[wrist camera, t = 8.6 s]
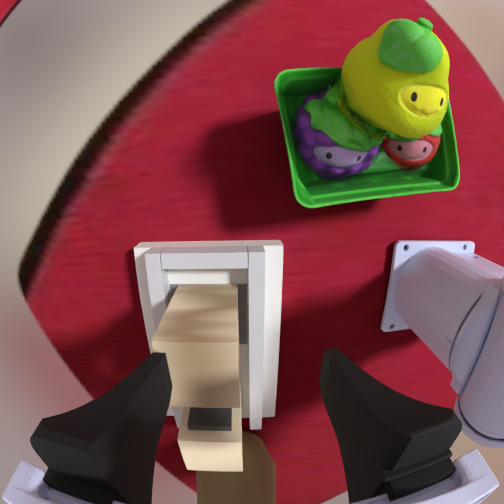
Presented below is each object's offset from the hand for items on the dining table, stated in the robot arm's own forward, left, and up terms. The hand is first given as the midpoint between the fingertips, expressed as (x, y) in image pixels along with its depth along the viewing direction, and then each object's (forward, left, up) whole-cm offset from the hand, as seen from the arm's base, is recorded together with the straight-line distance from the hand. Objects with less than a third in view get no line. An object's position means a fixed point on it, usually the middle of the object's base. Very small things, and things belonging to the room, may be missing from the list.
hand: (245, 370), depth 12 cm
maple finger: (+2, +1, -8) cm, 8 cm away
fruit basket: (-8, -12, -10) cm, 17 cm away
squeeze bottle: (+1, +19, -10) cm, 21 cm away
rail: (+2, +4, -9) cm, 11 cm away
